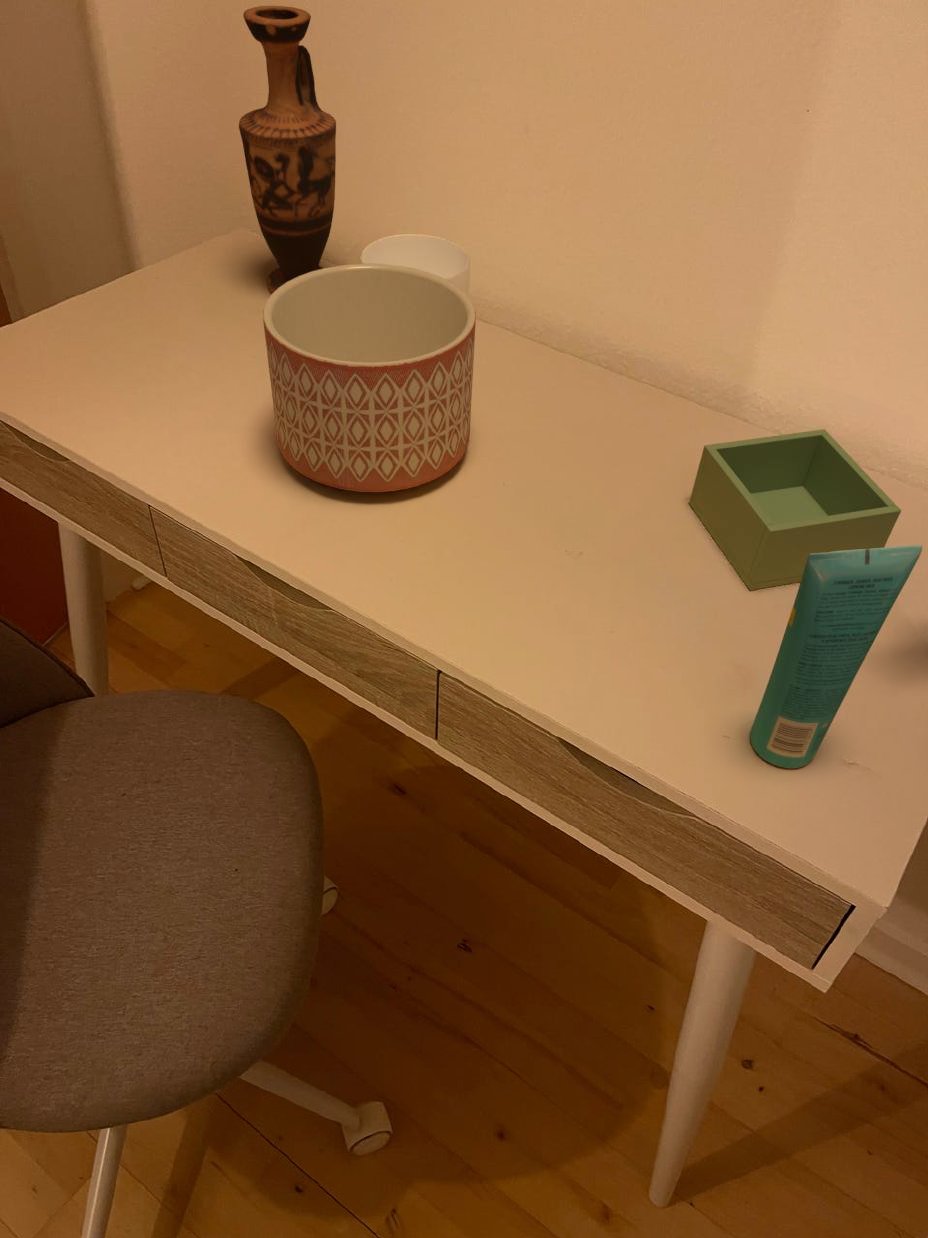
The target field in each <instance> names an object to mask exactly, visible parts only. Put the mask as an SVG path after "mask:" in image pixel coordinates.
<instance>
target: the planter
mask: <svg viewBox="0 0 928 1238" xmlns="http://www.w3.org/2000/svg"><path fill="white" fill-rule="evenodd" d="M476 322H477V321H476V310H475V306H474V303H473V301H472V300H471V298H470V296H469V297H468V296H467V295H466V294H465V293H464V292H463V291H462V290H461V289H460V288H459V287H457V286H456V285H454V284H453V283H451V282H449V281H447V280H445V279H443V278H441V277H439V276H437V275H434V274H431V273H429V272H425V271H421V270H418V269H414V268H409V267H403V266H397V265H388V264H360V263H351V264H341V265H334V266H330V267H323V269H320V270H316V271H312V272H309V273H306V274H303V275H301V276H298V277H296V278H294V279H292V280H290V281H288V282H287V283H285V284H284V285H282V286H281V287H279V288H278V289H277V290H276V291H275V292H274V293H271V294H270V296H269V297H268V299H267V300H266V302H265V305H264V308H263V311H262V323H263V330H264V331H263V332H264V339H265V346H266V347H265V348H266V354H267V355H266V356H267V364H268V372H269V380H270V387H271V396H272V405H273V413H274V421H275V430H276V438H277V445H278V447H279V450H280V453H281V454H282V456H283V457H284V459H285V461H287V463H288V464H289V465H290V466H291V467H292V468H293V469H295V470H296V471H297V472H298V473H300V474H301V475H303V476H305V477H306V478H308V479H311V480H312V481H314V482H317V483H320V484H322V485H325V486H327V487H330V488H335V489H340V490H344V491H352V492H359V493H382V492H394V491H400V490H401V491H402V490H406V489H410V488H414V487H417V486H421V485H423V484H427V483H429V482H431V481H434V480H436V479H438V478H439V477H441V476H443V475H444V474H446V473H448V472H449V471H450V470H451V469H453V468H454V467H455V466H457V464H458V463H459V462H460V461H461V460H462V459H463V457H464V455H465V453H466V452H467V450H468V446H469V443H470V434H471V416H472V397H473V396H472V395H473V379H474V377H473V375H474V359H475V358H474V357H475V339H476Z"/></svg>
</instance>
